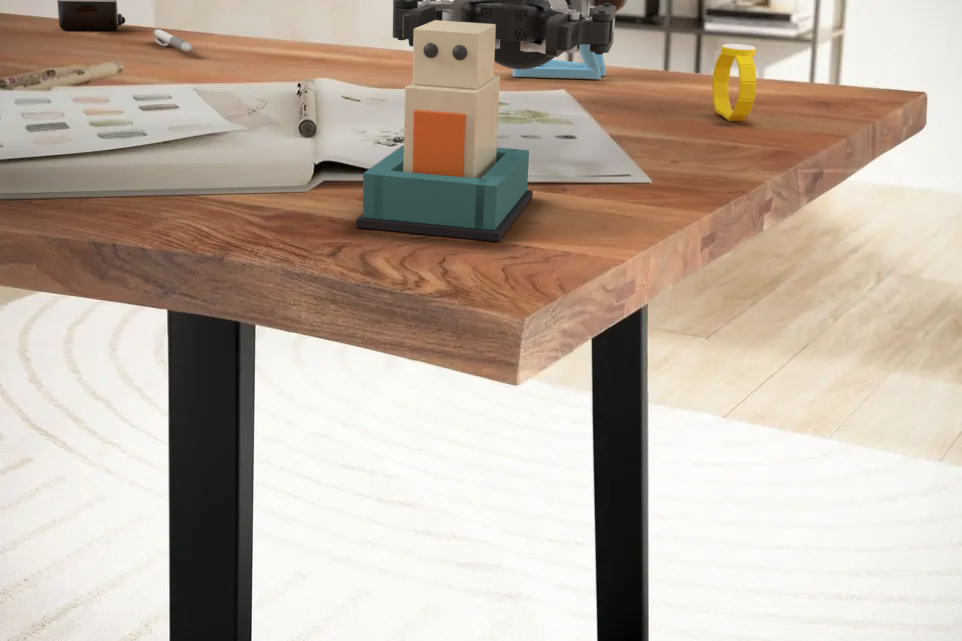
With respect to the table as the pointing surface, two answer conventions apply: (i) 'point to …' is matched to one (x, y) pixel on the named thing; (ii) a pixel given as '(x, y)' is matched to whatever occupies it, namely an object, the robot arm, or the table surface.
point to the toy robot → (452, 100)
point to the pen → (171, 40)
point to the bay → (446, 198)
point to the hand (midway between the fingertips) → (482, 34)
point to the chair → (568, 67)
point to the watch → (746, 80)
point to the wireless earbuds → (89, 15)
